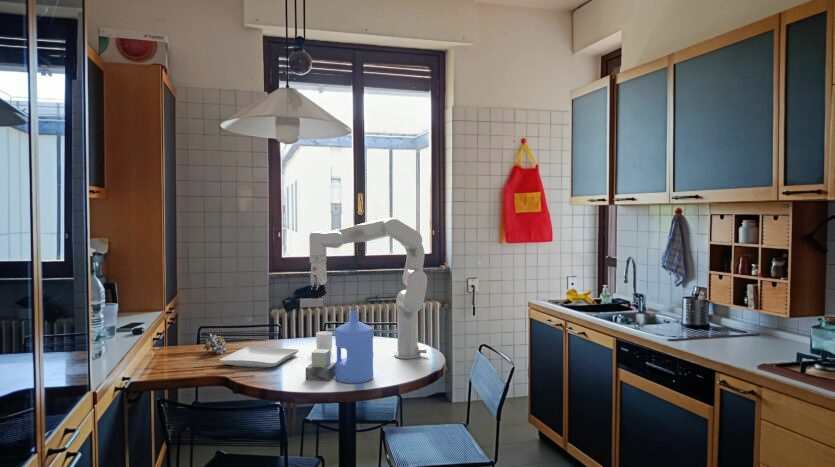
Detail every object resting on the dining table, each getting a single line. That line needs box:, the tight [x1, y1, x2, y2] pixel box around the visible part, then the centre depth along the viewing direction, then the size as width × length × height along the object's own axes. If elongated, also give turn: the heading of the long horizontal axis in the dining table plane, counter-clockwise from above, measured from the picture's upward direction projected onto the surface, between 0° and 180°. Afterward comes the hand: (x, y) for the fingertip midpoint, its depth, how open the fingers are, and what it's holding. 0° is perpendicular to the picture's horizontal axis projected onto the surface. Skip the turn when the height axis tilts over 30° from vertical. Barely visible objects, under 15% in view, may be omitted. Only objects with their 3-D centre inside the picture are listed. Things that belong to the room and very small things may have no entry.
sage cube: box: [311, 348, 331, 367], centre depth 245 cm, size 6×6×6 cm
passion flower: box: [202, 333, 227, 355], centre depth 286 cm, size 11×11×12 cm
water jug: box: [334, 310, 374, 384], centre depth 243 cm, size 16×16×28 cm
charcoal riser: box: [305, 361, 336, 382], centre depth 245 cm, size 10×10×5 cm
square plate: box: [219, 346, 300, 369], centre depth 272 cm, size 27×27×4 cm
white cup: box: [315, 330, 333, 355], centre depth 286 cm, size 8×8×10 cm
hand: (318, 296), depth 267 cm, fingers open, 9 cm apart
